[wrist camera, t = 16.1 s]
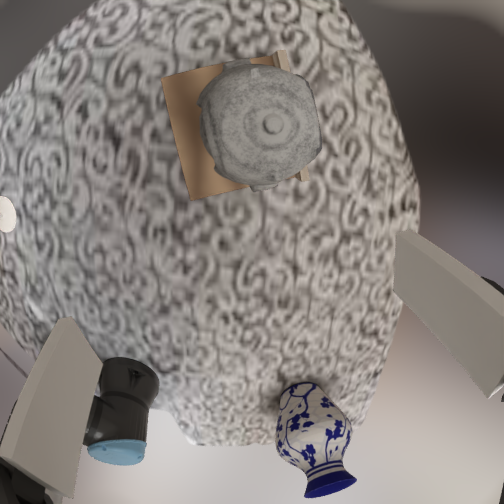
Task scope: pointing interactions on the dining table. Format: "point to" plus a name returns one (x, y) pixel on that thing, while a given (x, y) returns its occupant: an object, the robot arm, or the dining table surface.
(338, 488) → the vase
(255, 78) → the figurine
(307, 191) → the dining table surface
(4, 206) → the wineglass
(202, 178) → the shelf board
